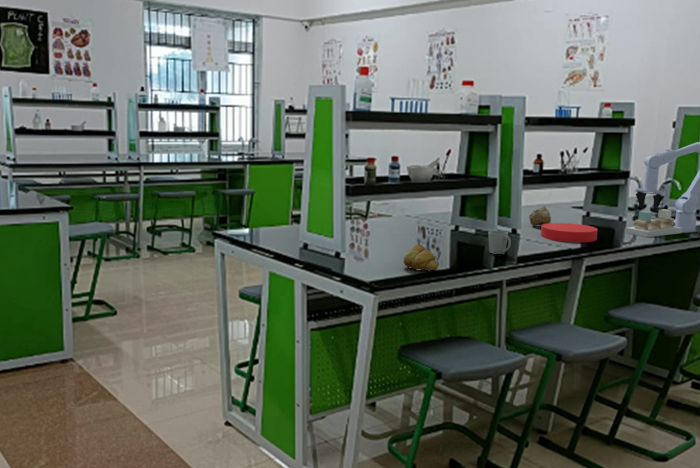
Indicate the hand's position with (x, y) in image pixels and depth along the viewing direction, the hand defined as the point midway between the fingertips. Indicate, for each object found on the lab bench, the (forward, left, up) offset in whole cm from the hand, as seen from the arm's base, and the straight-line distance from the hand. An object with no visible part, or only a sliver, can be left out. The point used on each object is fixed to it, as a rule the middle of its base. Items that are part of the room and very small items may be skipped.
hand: (648, 208), depth 320 cm
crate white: (-4, +7, -4) cm, 8 cm away
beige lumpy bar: (+4, +7, -8) cm, 11 cm away
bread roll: (+149, +18, -11) cm, 151 cm away
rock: (+41, -30, -11) cm, 52 cm away
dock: (+4, +7, -10) cm, 13 cm away
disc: (+51, -3, -11) cm, 52 cm away
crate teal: (+11, +7, -4) cm, 14 cm away
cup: (+106, +11, -11) cm, 107 cm away
